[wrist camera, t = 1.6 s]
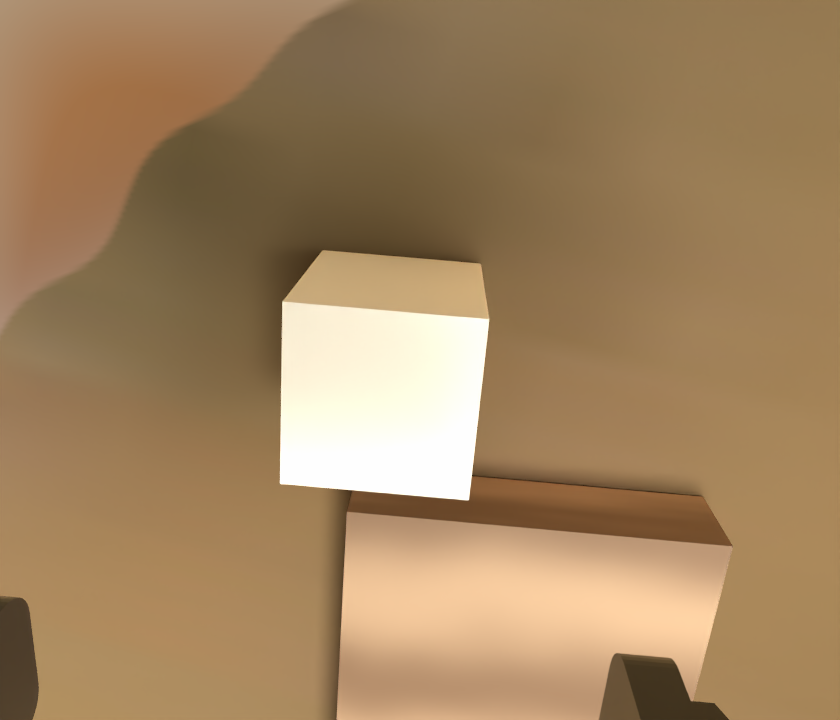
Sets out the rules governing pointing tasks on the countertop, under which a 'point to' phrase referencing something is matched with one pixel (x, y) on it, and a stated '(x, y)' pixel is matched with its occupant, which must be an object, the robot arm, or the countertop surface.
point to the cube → (383, 374)
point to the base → (520, 598)
